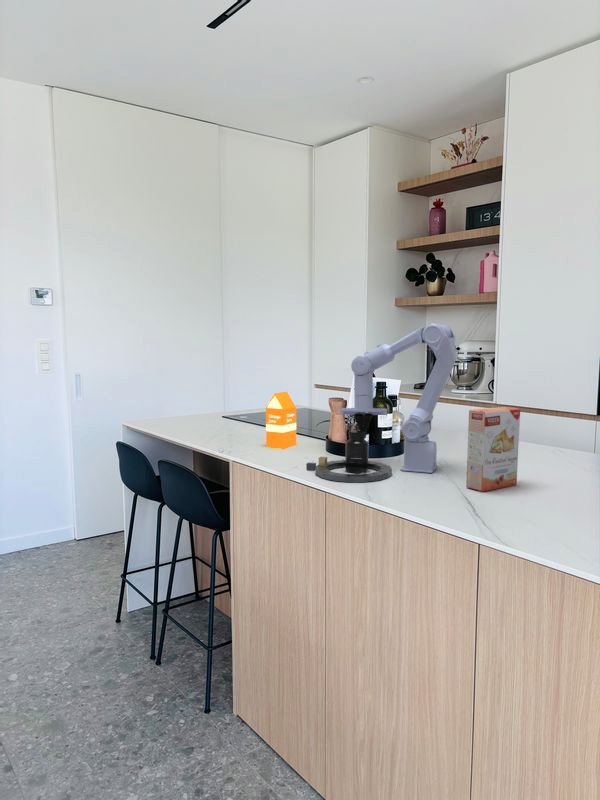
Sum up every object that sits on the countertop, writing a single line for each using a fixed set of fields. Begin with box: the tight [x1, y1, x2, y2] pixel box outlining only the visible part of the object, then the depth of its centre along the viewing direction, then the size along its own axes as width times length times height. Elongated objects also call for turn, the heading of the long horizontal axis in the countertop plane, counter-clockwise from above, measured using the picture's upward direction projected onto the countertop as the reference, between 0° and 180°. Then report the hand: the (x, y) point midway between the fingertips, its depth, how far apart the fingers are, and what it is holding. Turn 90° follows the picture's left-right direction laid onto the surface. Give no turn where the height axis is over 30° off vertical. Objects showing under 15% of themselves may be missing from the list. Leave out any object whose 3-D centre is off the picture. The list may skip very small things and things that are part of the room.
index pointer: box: [305, 461, 317, 471], centre depth 176 cm, size 2×2×2 cm
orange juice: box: [265, 391, 297, 450], centre depth 214 cm, size 8×9×20 cm
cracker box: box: [465, 406, 521, 492], centre depth 154 cm, size 14×6×21 cm, turn 123°
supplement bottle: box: [344, 429, 370, 474], centre depth 173 cm, size 7×7×12 cm
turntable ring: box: [315, 456, 393, 483], centre depth 171 cm, size 22×22×4 cm
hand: (363, 437), depth 183 cm, fingers closed
